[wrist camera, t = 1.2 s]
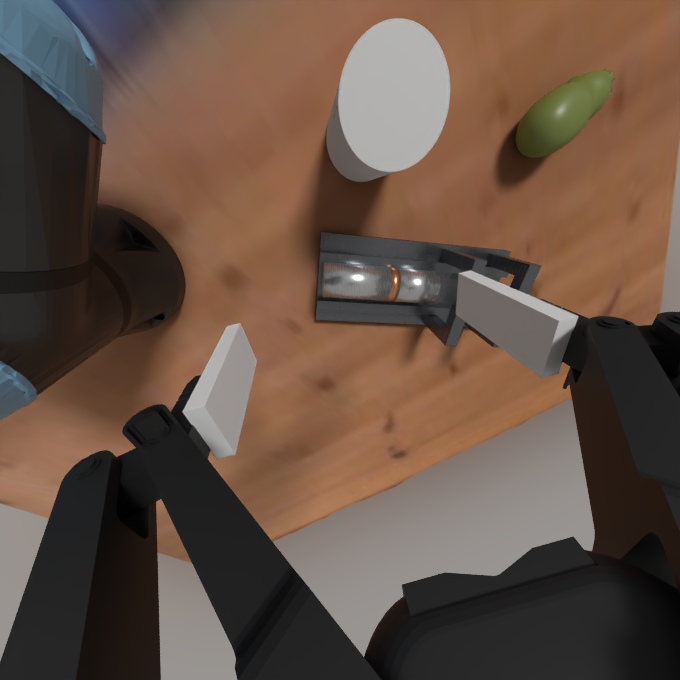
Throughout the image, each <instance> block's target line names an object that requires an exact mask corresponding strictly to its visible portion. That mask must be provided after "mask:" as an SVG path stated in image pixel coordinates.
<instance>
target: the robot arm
mask: <svg viewBox="0 0 680 680" xmlns="http://www.w3.org/2000/svg"><path fill="white" fill-rule="evenodd" d="M102 104H103V77H102V72H101V68H100V65H99V62H98V59H97V57H96V55H95V53H94V51H93V49H92V48H91V46H90V45H89V43H88V41H87V40H86V38H85V37H84V36H83V34H82V33H81V32H80V30H79V29H78V28H77V27H76V26H75V24H74V23H73V22H72V21H71V20H70V19H69V18H68V17H67V15H66V14H65V13H64V12H63V11H62V10H61V9H60V8H59V7H58V6H57V5H56V4H55V3H54V2H53V1H52V0H0V420H1V419H3V418H5V417H6V416H8V415H10V414H11V413H13V412H15V411H16V410H18V409H20V408H21V407H24V406H26V405H29V404H30V403H31V402H33V401H34V400H35V399H36V398H35V397H37V395H38V394H40V393H41V392H43V391H44V390H45V389H47V388H48V387H49V386H51V385H52V384H53V383H55V382H56V381H58V380H59V379H60V378H62V377H63V376H64V375H66V374H67V373H69V372H70V371H71V370H73V369H74V368H75V367H77V366H78V365H80V364H81V363H82V362H84V361H85V360H86V359H88V358H89V357H91V356H92V355H93V354H95V353H96V352H97V351H99V350H100V349H102V348H103V347H104V346H106V345H107V344H108V343H110V342H111V341H112V340H114V339H115V338H117V337H119V336H124V335H128V334H132V333H136V332H141V331H145V330H148V329H151V328H154V327H156V326H158V325H160V324H161V323H163V322H164V321H166V320H167V319H168V318H169V317H170V316H172V315H173V314H174V313H175V312H176V311H177V309H178V308H179V306H180V305H181V303H182V300H183V297H184V293H185V278H184V273H183V269H182V266H181V264H180V261H179V259H178V257H177V255H176V254H175V252H174V251H173V249H172V248H171V246H170V245H169V244H168V242H167V241H166V240H165V239H164V238H163V237H162V236H161V235H160V234H159V233H158V232H157V231H156V230H155V229H154V228H153V227H151V226H150V225H149V224H147V223H146V222H144V221H143V220H141V219H140V218H138V217H136V216H134V215H133V214H131V213H128V212H126V211H124V210H121V209H118V208H115V207H112V206H107V205H102V204H97V201H98V190H99V178H100V167H101V156H102V144H106V136H105V133H104V132H103V130H102ZM456 315H457V316H458V317H460V318H461V319H462V320H464V321H465V322H467V323H468V324H469V325H471V326H472V327H473V328H475V329H476V330H477V331H479V332H480V333H481V334H483V335H484V336H485V337H487V338H488V339H489V340H491V341H492V342H494V343H495V344H496V345H498V346H499V347H500V348H502V349H503V350H504V351H506V352H507V353H508V354H510V355H511V356H512V357H514V358H515V359H516V360H518V361H519V362H521V363H522V364H523V365H525V366H526V367H527V368H529V369H530V370H531V371H533V372H534V373H535V374H537V375H538V376H539V377H541V378H543V377H547V376H551V375H555V374H558V373H559V370H560V367H561V364H562V362H564V363H566V364H567V365H569V366H570V369H569V372H568V375H567V377H566V380H565V383H564V385H563V388H564V389H566V388H567V386H568V385H570V389H571V395H572V401H573V407H574V412H575V418H576V424H577V430H578V435H579V441H580V447H581V453H582V459H583V464H584V470H585V476H586V482H587V487H588V493H589V499H590V505H591V511H592V517H593V522H594V529H595V540H594V545H593V550H592V551H586V550H584V549H583V548H582V547H581V545H580V544H579V543H578V542H577V540H576V539H575V538H574V537H570V538H567V539H564V540H560V541H556V542H553V543H549V544H545V545H542V546H538V547H535V548H532V549H531V550H530V551H528V552H527V553H526V554H525V555H523V556H522V557H521V558H520V559H518V560H517V561H516V562H515V563H513V564H512V565H511V566H510V567H508V568H507V569H506V570H505V571H504V572H502V573H501V574H500V575H497V576H484V575H470V574H456V573H442V574H438V575H435V576H432V577H428V578H424V579H421V580H417V581H414V582H410V583H406V584H403V585H402V589H403V595H404V596H403V597H402V598H401V599H400V600H398V601H397V602H396V603H395V604H394V605H393V606H392V607H391V608H390V609H389V610H388V611H387V612H386V614H385V615H384V617H383V618H382V619H381V621H380V622H379V624H378V626H377V627H376V629H375V631H374V633H373V635H372V637H371V640H370V642H369V645H368V647H367V650H366V653H365V656H364V657H363V656H362V654H361V653H360V652H359V651H358V649H357V648H356V647H355V646H354V644H353V643H352V642H351V640H350V639H349V638H348V637H347V635H346V634H345V633H344V632H343V630H342V629H341V628H340V627H339V625H338V624H337V623H336V621H335V620H334V619H333V618H332V617H331V615H330V614H329V613H328V611H327V610H326V609H325V607H324V606H323V605H322V604H321V602H320V601H319V600H318V599H317V597H316V596H315V595H314V593H313V592H312V591H311V590H310V588H309V587H308V586H307V585H306V584H305V582H304V581H303V580H302V578H301V577H300V576H299V575H298V574H297V573H296V571H295V570H294V569H293V568H292V566H291V565H290V564H289V562H288V561H287V560H286V559H285V557H284V556H283V555H282V554H281V552H280V551H279V550H278V549H277V547H276V546H275V545H274V543H273V542H272V541H271V540H270V538H269V537H268V536H267V534H266V533H265V532H264V531H263V529H262V528H261V527H260V526H259V524H258V523H257V522H256V520H255V519H254V518H253V517H252V515H251V514H250V513H249V512H248V510H247V509H246V508H245V506H244V505H243V504H242V503H241V501H240V500H239V499H238V498H237V496H236V495H235V494H234V492H233V491H232V490H231V489H230V487H229V486H228V485H227V484H226V482H225V481H224V480H223V478H222V477H221V476H220V475H219V473H218V472H217V471H216V470H215V468H214V467H213V466H212V464H211V463H210V462H209V461H208V456H209V453H210V451H211V452H212V454H213V455H214V456H215V458H216V459H220V458H224V457H228V456H232V455H236V450H237V446H238V442H239V437H240V433H241V429H242V424H243V420H244V416H245V411H246V407H247V403H248V398H249V394H250V390H251V385H252V381H253V377H254V372H255V368H256V364H257V360H256V358H255V356H254V353H253V351H252V349H251V346H250V344H249V342H248V339H247V337H246V335H245V333H244V330H243V328H242V326H241V323H239V324H234V325H230V326H227V327H226V329H225V331H224V333H223V335H222V337H221V339H220V341H219V343H218V345H217V346H216V348H215V350H214V352H213V354H212V356H211V358H210V360H209V362H208V364H207V366H206V368H205V369H204V371H203V373H202V375H200V376H195V377H194V378H193V379H192V380H191V381H190V382H189V383H188V384H187V385H186V387H185V388H184V390H183V392H182V394H181V395H180V397H179V399H178V401H177V402H176V404H175V406H174V408H173V409H172V411H171V412H170V411H169V409H168V408H167V407H166V406H165V405H163V404H161V405H154V406H150V407H148V408H146V409H144V410H142V411H140V412H139V413H137V414H136V415H134V416H133V417H132V418H131V419H130V420H129V421H128V422H127V423H126V424H125V426H124V427H123V434H124V435H125V436H126V438H127V439H128V440H129V441H130V442H131V443H132V444H133V445H134V446H135V447H136V448H135V449H133V450H131V451H129V452H127V453H125V454H122V455H120V456H118V457H116V456H115V455H114V454H113V453H112V452H110V451H107V450H105V451H99V452H97V453H94V454H92V455H90V456H88V457H87V458H85V459H83V460H81V461H80V462H78V464H76V465H75V466H74V467H73V468H72V469H71V470H70V471H69V472H68V473H67V474H66V475H65V477H64V479H63V481H62V482H61V485H60V488H59V491H58V494H57V497H56V500H55V503H54V506H53V509H52V512H51V515H50V518H49V521H48V524H47V526H46V529H45V532H44V535H43V538H42V541H41V544H40V547H39V550H38V553H37V556H36V559H35V562H34V565H33V567H32V571H31V573H30V577H29V579H28V582H27V585H26V588H25V591H24V594H23V597H22V600H21V603H20V606H19V609H18V612H17V614H16V617H15V621H14V623H13V626H12V629H11V632H10V635H9V638H8V641H7V644H6V647H5V650H4V653H3V656H2V659H1V661H0V680H161V674H160V636H159V599H158V561H157V523H156V501H158V500H160V499H162V501H163V503H164V505H165V507H166V509H167V511H168V513H169V515H170V518H171V520H172V522H173V524H174V526H175V528H176V530H177V532H178V534H179V536H180V538H181V541H182V543H183V545H184V547H185V549H186V551H187V553H188V555H189V557H190V559H191V561H192V564H193V565H194V568H195V570H196V572H197V574H198V576H199V578H200V580H201V582H202V584H203V586H204V589H205V591H206V593H207V595H208V597H209V599H210V601H211V603H212V605H213V607H214V609H215V612H216V614H217V616H218V618H219V620H220V622H221V624H222V626H223V628H224V631H225V633H226V634H227V637H228V639H229V641H230V643H231V645H232V647H233V650H234V652H235V656H236V664H235V671H236V675H237V679H238V680H680V312H665V313H660V314H658V315H657V317H656V318H655V320H654V322H653V324H652V325H644V326H636V325H635V324H634V323H632V322H630V321H627V320H625V319H621V318H616V317H609V316H598V317H592V318H590V319H588V318H586V317H584V316H581V315H579V314H577V313H574V312H572V311H569V310H567V309H565V308H561V307H560V306H557V305H553V303H550V302H548V301H545V300H543V299H539V298H535V297H532V296H530V295H528V294H525V293H523V292H520V291H518V290H516V289H513V288H511V287H509V286H506V285H504V284H502V283H499V282H497V281H495V280H492V279H490V278H488V277H485V276H483V275H481V274H478V273H476V272H473V271H471V270H470V271H466V272H461V273H459V274H458V288H457V303H456Z"/></svg>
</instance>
